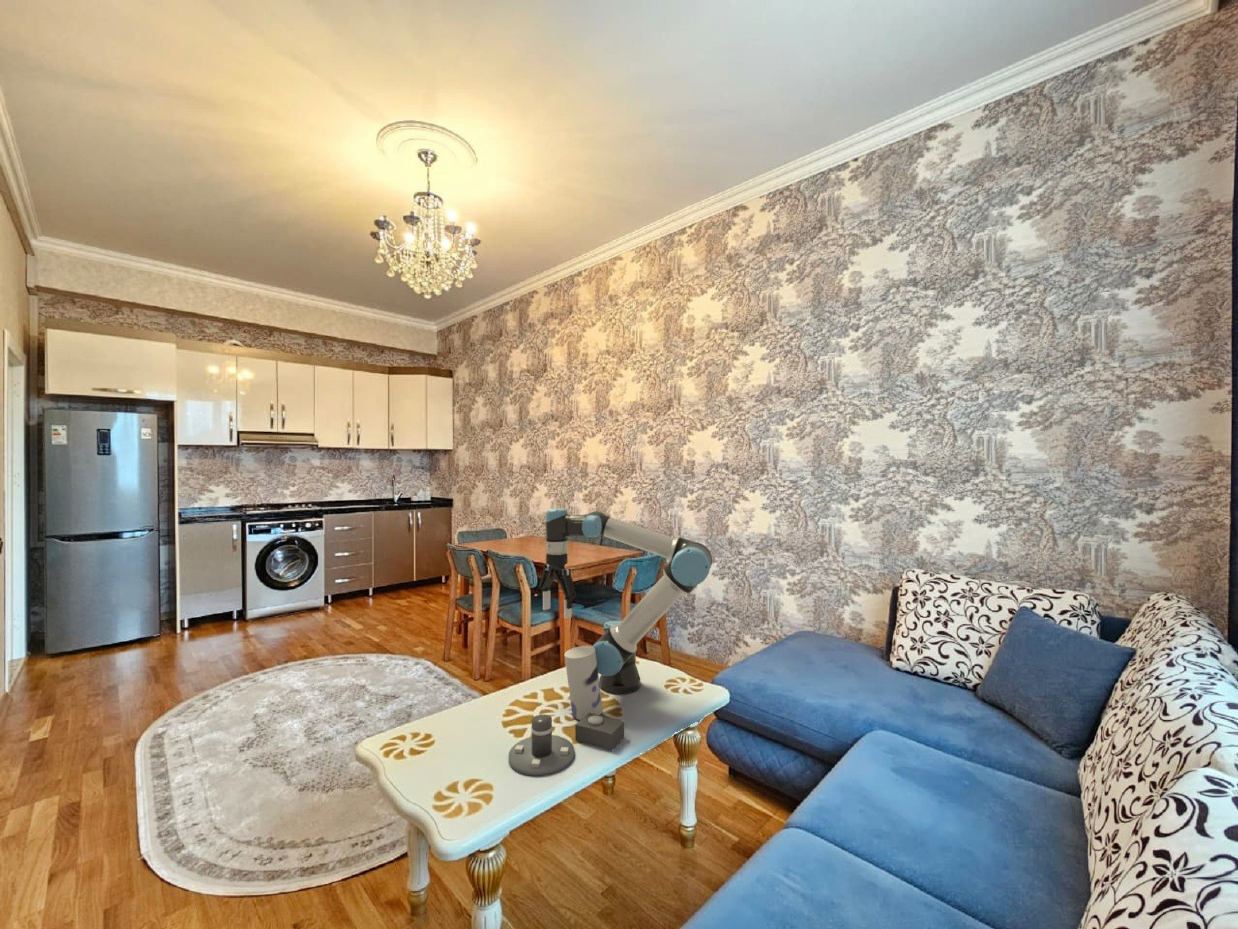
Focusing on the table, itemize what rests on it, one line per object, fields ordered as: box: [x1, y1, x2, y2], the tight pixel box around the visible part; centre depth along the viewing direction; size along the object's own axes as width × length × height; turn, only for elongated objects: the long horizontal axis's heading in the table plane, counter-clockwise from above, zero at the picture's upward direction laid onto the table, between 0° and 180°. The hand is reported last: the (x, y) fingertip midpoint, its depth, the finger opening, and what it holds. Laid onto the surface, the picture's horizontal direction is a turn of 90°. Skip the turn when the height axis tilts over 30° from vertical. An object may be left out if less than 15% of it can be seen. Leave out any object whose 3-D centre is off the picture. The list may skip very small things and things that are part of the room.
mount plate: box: [508, 734, 575, 777], centre depth 140 cm, size 18×18×2 cm
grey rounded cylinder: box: [530, 714, 553, 758], centre depth 140 cm, size 6×6×9 cm
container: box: [564, 645, 604, 721], centre depth 164 cm, size 10×10×20 cm
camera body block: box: [574, 713, 625, 752], centre depth 149 cm, size 12×8×6 cm, turn 63°
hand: (557, 613), depth 178 cm, fingers open, 13 cm apart
